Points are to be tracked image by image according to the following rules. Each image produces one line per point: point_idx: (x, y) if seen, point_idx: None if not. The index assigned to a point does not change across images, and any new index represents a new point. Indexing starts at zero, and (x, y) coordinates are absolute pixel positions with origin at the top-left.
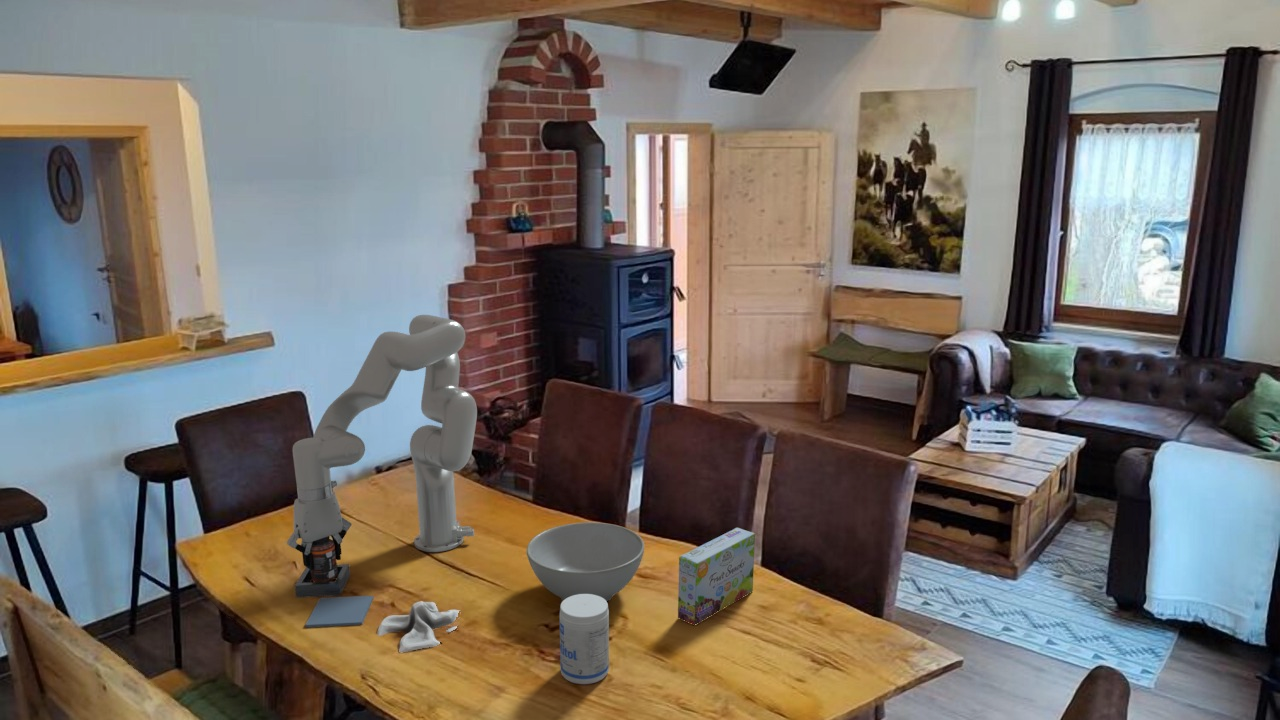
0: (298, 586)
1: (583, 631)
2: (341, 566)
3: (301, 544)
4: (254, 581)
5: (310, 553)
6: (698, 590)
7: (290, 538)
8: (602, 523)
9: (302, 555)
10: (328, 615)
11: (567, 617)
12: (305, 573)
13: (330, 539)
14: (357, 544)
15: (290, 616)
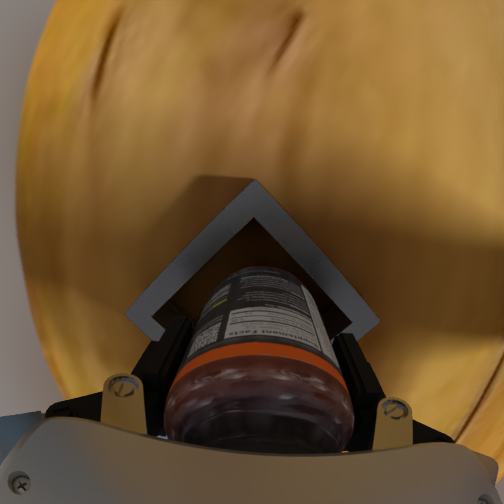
0: (135, 322)
1: None
2: (350, 317)
3: (104, 421)
4: (112, 61)
5: (162, 428)
6: None
7: (1, 463)
8: None
9: (133, 369)
10: (167, 438)
11: None
12: (204, 252)
13: (337, 452)
14: (496, 113)
15: (98, 366)
